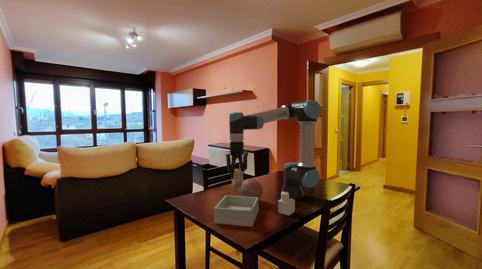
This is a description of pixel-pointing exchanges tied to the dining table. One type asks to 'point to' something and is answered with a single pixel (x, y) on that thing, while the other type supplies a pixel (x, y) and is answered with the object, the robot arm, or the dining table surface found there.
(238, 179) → the dowel
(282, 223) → the dining table surface
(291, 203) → the medicine bottle
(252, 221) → the box
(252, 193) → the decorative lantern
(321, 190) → the dining table surface
